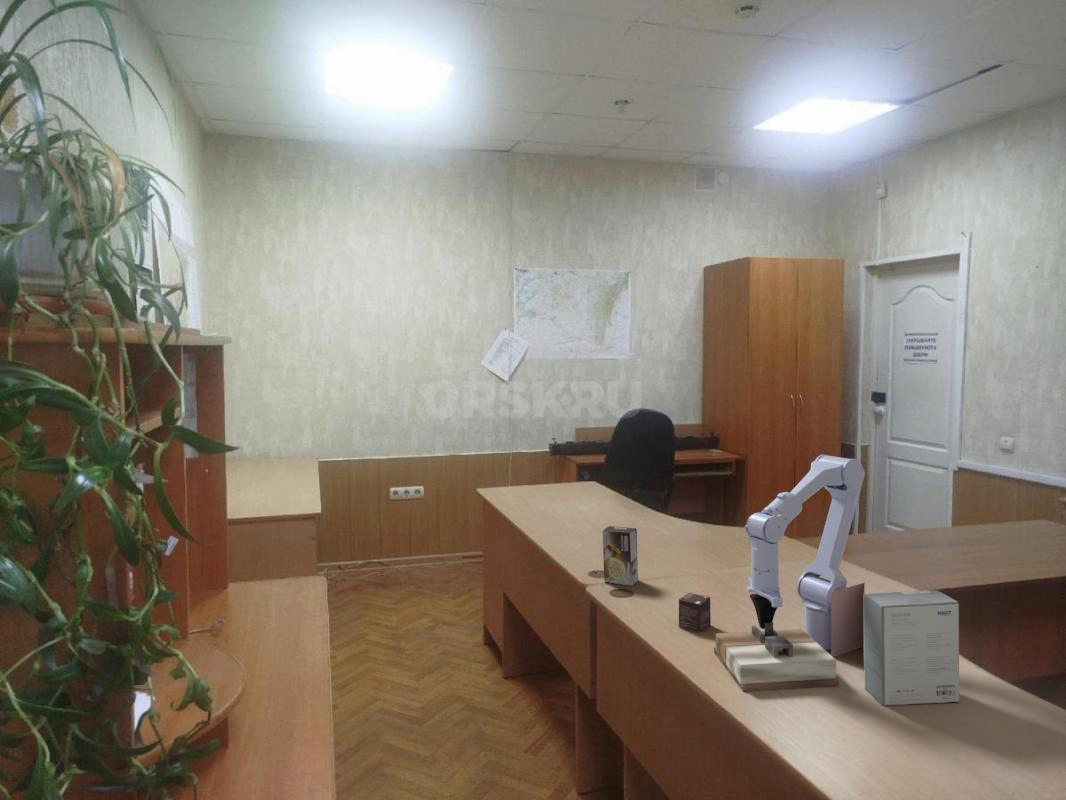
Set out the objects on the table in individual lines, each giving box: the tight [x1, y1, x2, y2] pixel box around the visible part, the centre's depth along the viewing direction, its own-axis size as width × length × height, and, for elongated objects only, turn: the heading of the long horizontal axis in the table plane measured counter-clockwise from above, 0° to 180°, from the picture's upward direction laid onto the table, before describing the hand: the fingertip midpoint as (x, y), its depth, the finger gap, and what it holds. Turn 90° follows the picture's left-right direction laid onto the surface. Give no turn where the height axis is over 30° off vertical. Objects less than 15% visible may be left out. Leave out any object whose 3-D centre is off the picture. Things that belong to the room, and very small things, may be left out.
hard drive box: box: [863, 589, 960, 706], centre depth 142 cm, size 16×8×20 cm, turn 92°
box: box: [678, 592, 712, 633], centre depth 180 cm, size 6×6×7 cm
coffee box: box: [602, 525, 639, 587], centre depth 216 cm, size 9×6×16 cm
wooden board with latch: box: [713, 625, 839, 692], centre depth 156 cm, size 19×20×8 cm
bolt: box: [764, 621, 783, 652], centre depth 155 cm, size 7×2×4 cm, turn 3°
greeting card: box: [830, 582, 866, 665], centre depth 160 cm, size 11×7×15 cm, turn 119°
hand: (765, 627), depth 160 cm, fingers closed
